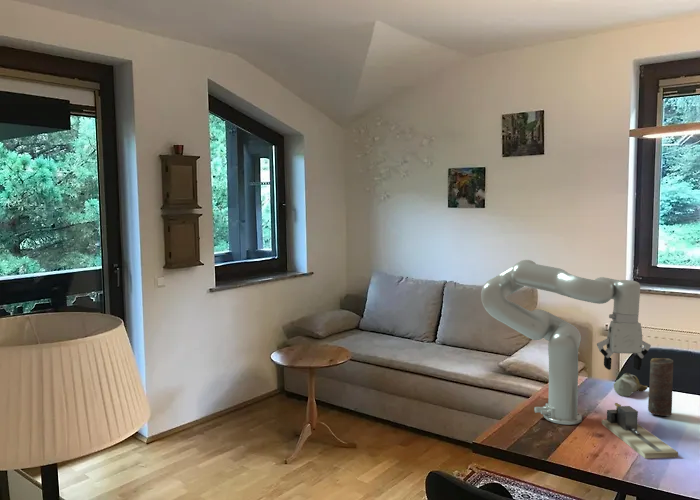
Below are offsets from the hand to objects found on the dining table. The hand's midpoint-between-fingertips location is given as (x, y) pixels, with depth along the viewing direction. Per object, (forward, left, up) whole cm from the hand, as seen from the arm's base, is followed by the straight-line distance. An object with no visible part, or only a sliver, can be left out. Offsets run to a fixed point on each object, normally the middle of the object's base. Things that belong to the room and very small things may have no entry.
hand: (622, 368), depth 190 cm
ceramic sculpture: (+20, +32, -20) cm, 43 cm away
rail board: (0, -10, -20) cm, 22 cm away
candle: (+19, +9, -20) cm, 29 cm away
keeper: (0, +2, -19) cm, 19 cm away
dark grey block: (0, -6, -18) cm, 19 cm away
